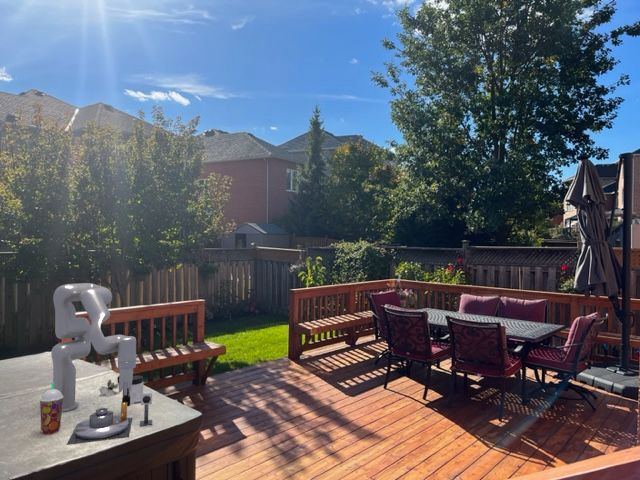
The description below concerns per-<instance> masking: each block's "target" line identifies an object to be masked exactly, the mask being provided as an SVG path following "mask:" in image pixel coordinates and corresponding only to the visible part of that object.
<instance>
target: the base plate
mask: <svg viewBox="0 0 640 480" xmlns="http://www.w3.org/2000/svg"><path fill="white" fill-rule="evenodd" d="M127 419H128V428H127V429H126V430H124V431H123V432H121V433H118V434H116V435H113V436H109V437H104V438H97V439H84V438H79V437H77V436H76V435H75V428H74V430H73V431H72V433H71V435H70V437H69V439H68V441H67V443H66V445H75V444H83V443H84V444H85V443H91V442H99V441H108V440H107V439H109V440H115V439H116V438H117V439H124V438H130V433H131V428H132V424H133V423H132V422H133V417H127ZM78 424H79V423H77V424H76V426H77V425H78ZM76 426H75V427H76Z"/></svg>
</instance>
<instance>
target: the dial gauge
mask: <svg viewBox="0 0 640 480" xmlns="http://www.w3.org/2000/svg"><path fill="white" fill-rule="evenodd" d="M136 404H140V405H141V406H144V409H143V411H144V413H143V414H144V416H143V420H140V422H139V427H148V426H147V425H149V426H153V419H149V405H153V393H152V392H149V393H143V394H141V401H139V402H134V404H133V405H136Z"/></svg>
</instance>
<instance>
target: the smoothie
mask: <svg viewBox="0 0 640 480" xmlns="http://www.w3.org/2000/svg"><path fill="white" fill-rule="evenodd" d="M63 397H64V396H63V395H62V393H61V392H60V391H59V390H57V389H53V381H52V382H51V388H50V389H48V390H46V391H45V392H44V393H43V394H42V396H41V397H40V398H39V404H40V405H39V406H40V407H39V408H40V430H41V431H42V434H44V435H49V434H50V435H51V434H54V433H56V432H58V431H59V430H60V428H61V424H62V423H61V422H62V414H63V412H62V405H63Z"/></svg>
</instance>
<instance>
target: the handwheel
mask: <svg viewBox="0 0 640 480" xmlns="http://www.w3.org/2000/svg"><path fill="white" fill-rule="evenodd" d="M127 418H128V406H127V402H123V403H122V402H121V405H120V415H113V424H112V425H110V426H108V427H104V428H97V429H95V428H90V427H89V419H86V420H83V421H81V422H79V423H77V424H78V425H77V424H76V425H77V426H75V427H74V429H75V435H76V436H77V437H79V438H84V439H97V438H104V437H109V436H113V435H116V434H118V433H121V432H123V431H124V430H126V429H127V428H128V419H127Z"/></svg>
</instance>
